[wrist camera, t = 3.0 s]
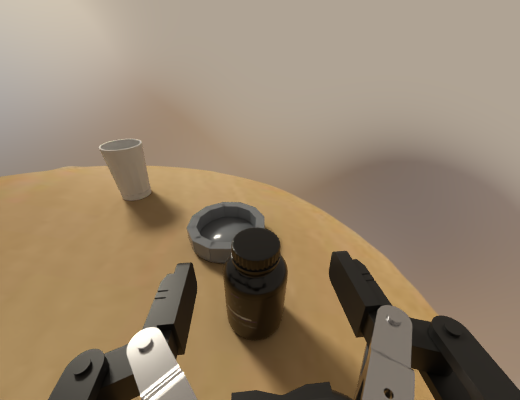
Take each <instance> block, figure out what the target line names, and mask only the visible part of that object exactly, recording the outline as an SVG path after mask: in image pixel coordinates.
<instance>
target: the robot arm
mask: <svg viewBox="0 0 520 400" xmlns="http://www.w3.org/2000/svg"><path fill="white" fill-rule="evenodd" d="M329 277H330V281H331V283H332V286H333V288H334V290H335V292H336V294H337V297H338V299H339V301H340V303H341V305H342V307H343V310H344V312H345V314H346V316H347V318H348V321H349V323H350V325H351V327H352V329H353V332H354V334H355V336H356V338H357V337H364V338H365V340H366V342H367V343H366V347H365V352H364V356H363V361H362V366H361V370H360V375H359V380H358V384H357V388H356V391H355V395H354V399H351V398H349V397H348V396H346V395H344V394H342V393H340V392H337V391H334V390H332V389H331V386H330V383H329V382H324V383H315V384H306V385H304V386H302V387H300V388H297V389H295V390H293V391H291V392H289V393H287V394H285V395H277V394H272V393H267V392H262V391H257V390H254V391H245V392H236V393H232V398H231V400H414V387H415V374H414V370H413V369H417V370H419V372H420V374H421V376H422V377H423V379H424V381H425V383H426V385H427V386H428V388H429V390H430V392H431V393H432V395H433V397H434V399H435V400H520V390H519V389H518V388H517V387H516V386H515V385H514V383H513V382H512V381H511V380H510V379H509V378H508V376H507V375H506V374H505V373H504V372H503V370H502V369H501V368H500V367H499V366H498V365H497V363H496V362H495V361H494V360H493V359H492V358H491V356H490V355H489V354H488V353H487V352H486V351H485V349H484V348H483V347H482V346H481V345H480V344H479V342H478V341H477V340H476V339H475V338H474V337H473V335H472V334H471V333H470V332H469V331H468V330H467V329H466V327H464V326H463V325H462V324H461V323H459V322H458V321H456V320H454V319H452V318H449V317H447V316H436V317H434V318H433V320H432V321H431V322H428V321H423V320H418V319H414V318H410V317H408V315H407V314H406V313H405V312H403V311H402V310H400V309H399V308H397V307H394V306H392V305H391V303H390V302H389V300H388V299H387V297H386V296H385V294H384V293H383V292H382V290H381V289H380V287H379V286H378V284H377V283H376V281H374V278H373V277H372V275H370V272H369V271H368V270H367V268H366V267H365V265H363V264H362V263H361V262H360V261H358V260H357V259H354V260H352V258H351V257H350V255H349V253H348V252H347V251H337V252H332V256H331V262H330V268H329ZM196 294H197V281H196V276H195V272H194V268H193V264H192V263H179V264H177V266H176V269H175V272H174V274H168V275H167V276H166V277H165V278H164V279H163V280H162V281H161V283H160V286H159V288H158V292H157V294H156V296H155V300H154V301H153V304H152V306H151V309H150V311H149V314H148V317H147V319H146V322H145V324H144V327H143V329H142V331H140V332H138V333H137V334H136V335H135V336H134V337H133V338H132V339H131V341H130V342H129V343H128V344H127V345H125V346H122V347H120V348H118V349H115V350H113V351H110V352H108V353H105V354H104V353H103V352H102V351H101V350H99V349H91V350H87V351H85V352H83V353H81V354H80V355H78V356H77V357H75V358H74V359H73V360H72V361H71V362H70V363H69V364H68V366H67V367H66V368H65V370H64V372H63V373H62V375H61V377H60V379H59V381H58V382H57V384H56V386H55V388H54V390H53V391H52V393H51V395H50V397H49V399H48V400H131V399H133V398H135V397H137V396H139V395H141V398H142V400H197V398H196V396H195V394H194V392H193V390H192V388H191V386H190V384H189V382H188V380H187V379H186V377H185V375H184V373H183V371H182V369H181V368H180V367H179V365H178V363H177V361H176V358H177V355H183V354H184V353H185V348H186V344H187V339H188V334H189V329H190V324H191V319H192V314H193V309H194V304H195V299H196ZM411 368H413V369H411Z"/></svg>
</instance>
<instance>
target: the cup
mask: <svg viewBox="0 0 520 400" xmlns="http://www.w3.org/2000/svg"><path fill="white" fill-rule="evenodd" d="M99 149H100V151H101V153H102V155H103V157H104V159H105V161H106V163H107V165H108V167H109V169H110V172H111V174H112V176H113V178H114V180H115V182H116V184H117V186H118V188H119V190H120V192H121V195H122V198H123V199H124V200H128V201H133V200H139V199H142V198H145V197H147V196H148V195H150V194H151V187H150V184H149V179H148V174H147V169H146V163H145V158H144V152H143V146H142V141H140V140H137V139H120V140H114V141H110V142H107V143H104V144H102V145H100V146H99Z"/></svg>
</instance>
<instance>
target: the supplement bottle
mask: <svg viewBox="0 0 520 400" xmlns="http://www.w3.org/2000/svg"><path fill="white" fill-rule="evenodd" d="M231 250H232V251H231V254H230V256H229V257H228V258H227V260H226V262H225V265H224V269H223V277H224V287H225V297H226V307H227V315H228V320H229V323H230V326H231V327H232V329H233V330H234V331H235V332H236V333H237V334H238V335H239V336H241V337H243V338H245V339H248V340H261V339H265V338H267V337H269V336H270V335H272V334H273V333H274V332H275V331H276V330H277V328H278V327H279V325H280V323H281V320H282V314H283V307H284V300H285V292H286V284H287V274H288V270H287V265H286V262H285V260H284V258H283V257H282V256H281V254H280V241H279V238H278V237H277V235H275V234H274V233H273V232H271V231H269V230H267V229H264V228H259V227H257V228H255V227H253V228H248V229H245V230H242V231H241V232H238V234H236V235H235V237H234V238H233V240H232V244H231Z"/></svg>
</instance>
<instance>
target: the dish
mask: <svg viewBox="0 0 520 400" xmlns="http://www.w3.org/2000/svg"><path fill="white" fill-rule="evenodd" d="M253 227H255V228H257V227H259V228H264V216H263V215H262V214H261V213H260V212H259V211H258V210H257V209H256V208H255V207H253V206H250V205H247V204H244V203H241V202H221V203H218V204H214V205H211V206H207V207H205V208H203V209H202V210H200V211H199V212H197V213H196V214H194V215H193V216H192V218H191V220H190V222H189V224H188V226H187V232H188V236H189V240H190V243H191V246H192V249H193V250H194V252H195V253H196V254H197V255H198V256H199V257H201V258H202V259H204V260H207V261H210V262H214V263H225V262H226V260H227V258H228V257H229V256H230V254H231V251H232V250H231V244H232V240H233V238H234V237H235V235H236V234H238V232H241V231H242V230H245V229H248V228H253Z"/></svg>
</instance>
